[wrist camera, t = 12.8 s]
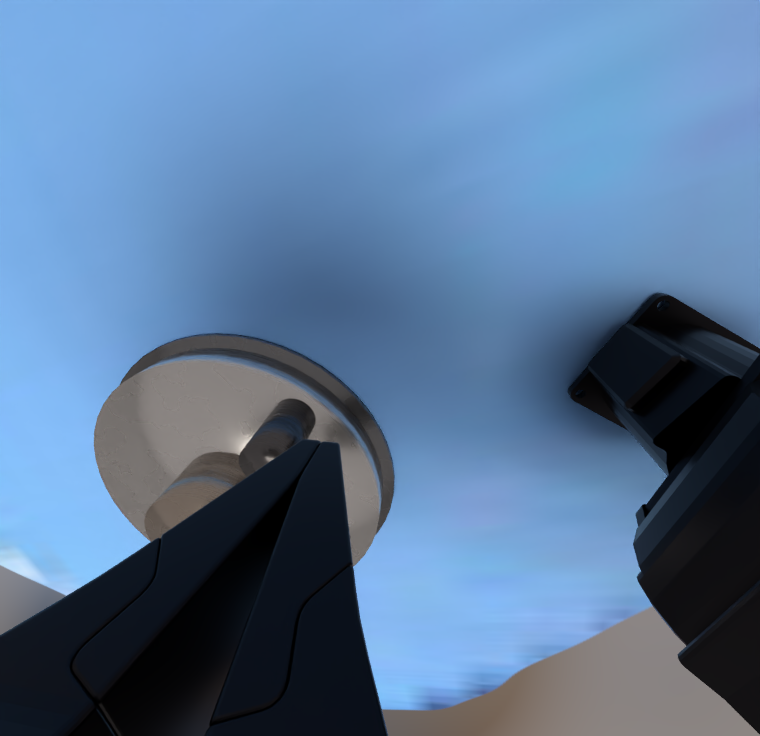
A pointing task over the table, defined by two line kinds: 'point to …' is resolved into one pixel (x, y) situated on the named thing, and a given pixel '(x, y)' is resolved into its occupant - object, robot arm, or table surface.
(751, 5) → the table surface
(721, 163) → the table surface
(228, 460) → the cover
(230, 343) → the turntable base
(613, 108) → the table surface
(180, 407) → the turntable
